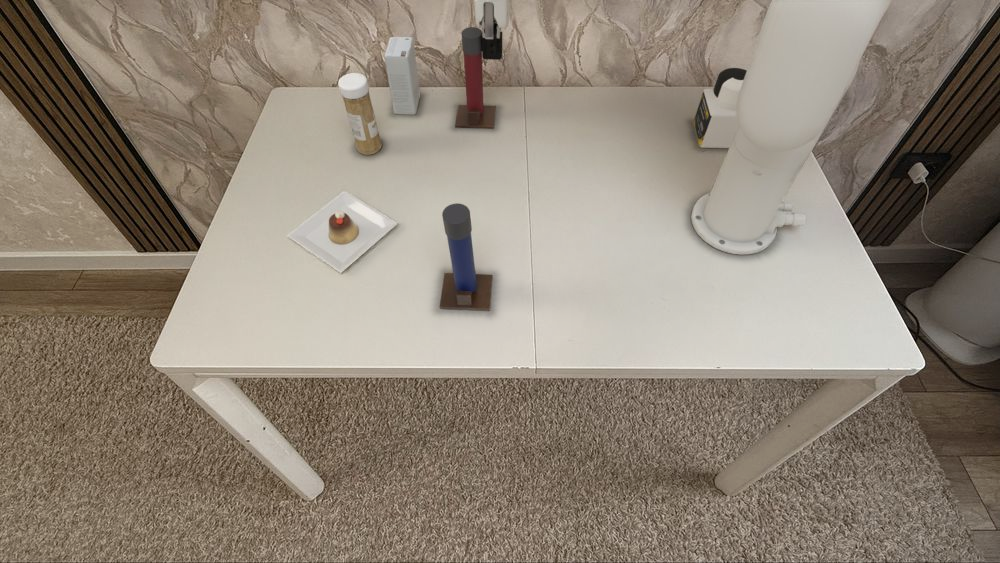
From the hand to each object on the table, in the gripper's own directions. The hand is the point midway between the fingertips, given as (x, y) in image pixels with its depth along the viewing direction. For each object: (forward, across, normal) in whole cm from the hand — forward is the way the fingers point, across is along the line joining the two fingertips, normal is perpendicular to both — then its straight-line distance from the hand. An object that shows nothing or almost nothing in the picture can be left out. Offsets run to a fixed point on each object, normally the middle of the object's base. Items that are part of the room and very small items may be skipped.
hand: (492, 56), depth 92 cm
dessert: (+12, -29, +21) cm, 38 cm away
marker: (+10, -39, +1) cm, 40 cm away
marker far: (+10, 0, +3) cm, 10 cm away
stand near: (+12, -39, +1) cm, 41 cm away
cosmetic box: (+13, +3, +16) cm, 21 cm away
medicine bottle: (+12, -3, -40) cm, 42 cm away
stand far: (+12, 0, +3) cm, 13 cm away
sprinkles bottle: (+13, -9, +21) cm, 26 cm away
